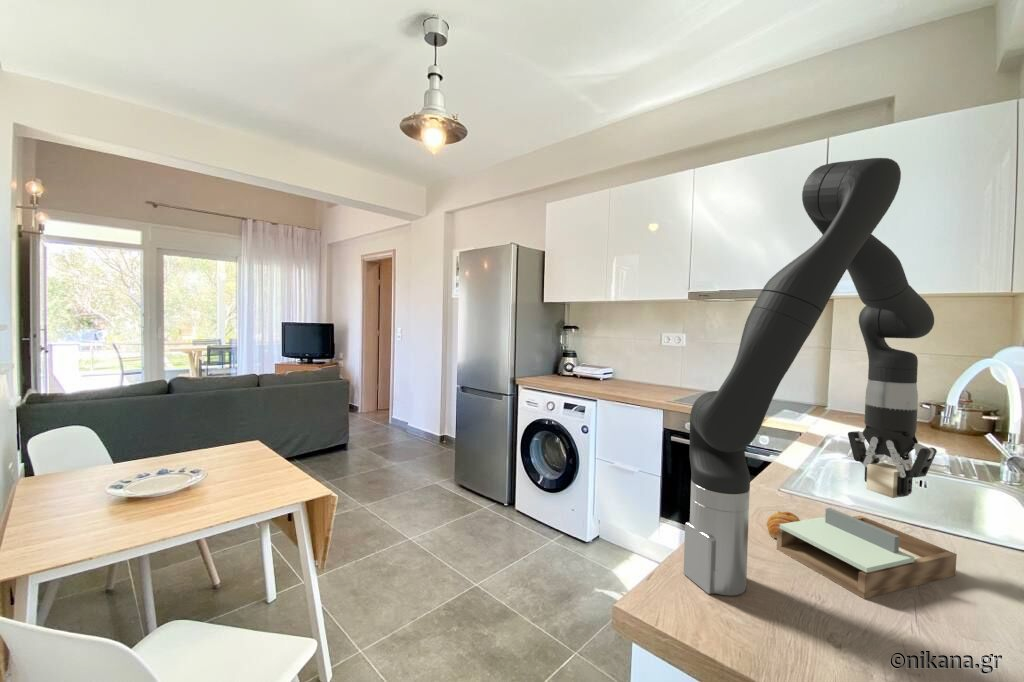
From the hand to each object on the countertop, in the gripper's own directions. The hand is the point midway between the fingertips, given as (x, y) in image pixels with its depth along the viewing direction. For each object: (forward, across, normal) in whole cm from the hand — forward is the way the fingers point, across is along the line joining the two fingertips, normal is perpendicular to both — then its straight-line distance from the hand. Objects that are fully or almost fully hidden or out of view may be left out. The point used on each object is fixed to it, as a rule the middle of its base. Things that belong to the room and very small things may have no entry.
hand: (886, 490), depth 81 cm
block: (0, 0, 0) cm, 0 cm away
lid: (+9, 0, +11) cm, 15 cm away
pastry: (+14, +13, +10) cm, 21 cm away
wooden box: (+13, 0, +6) cm, 15 cm away
